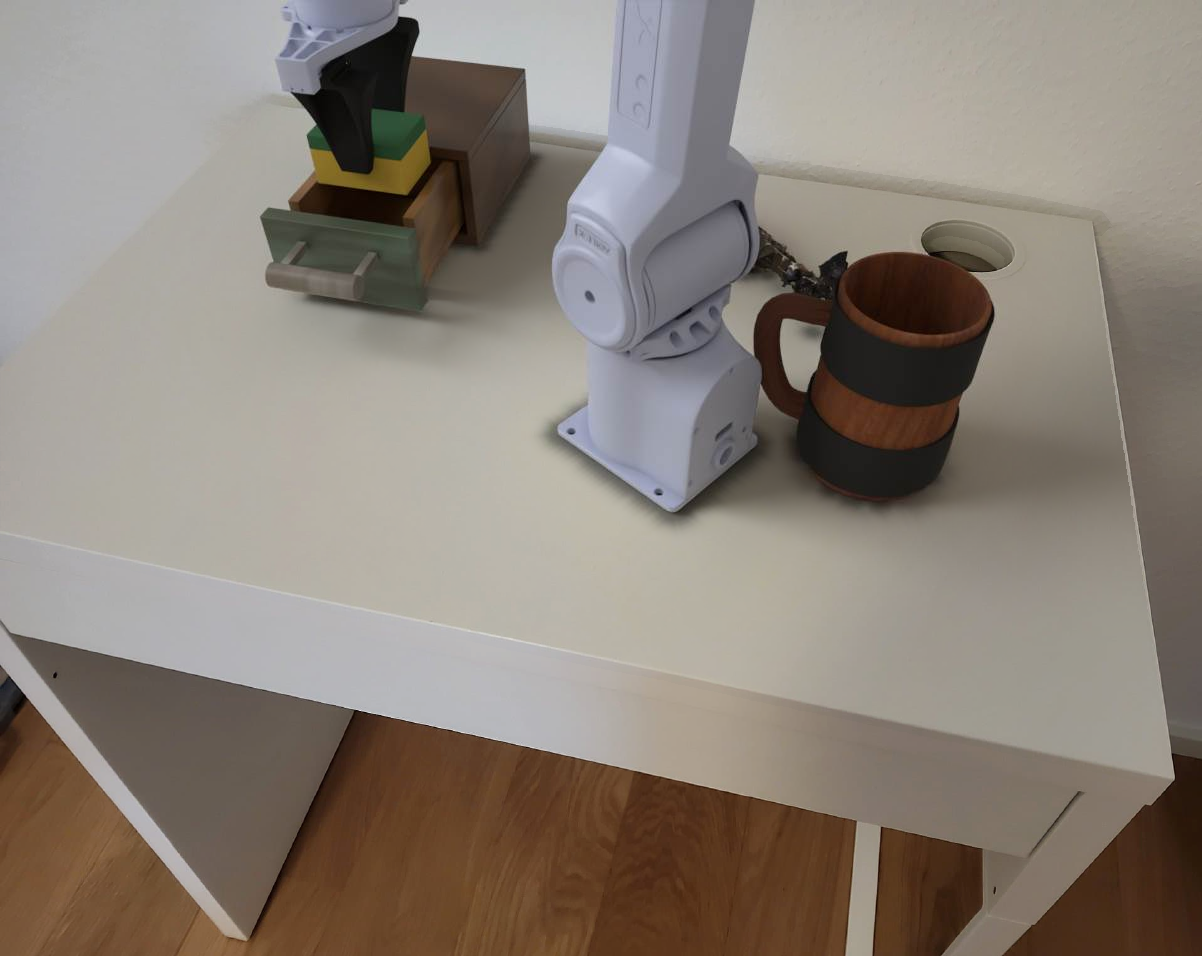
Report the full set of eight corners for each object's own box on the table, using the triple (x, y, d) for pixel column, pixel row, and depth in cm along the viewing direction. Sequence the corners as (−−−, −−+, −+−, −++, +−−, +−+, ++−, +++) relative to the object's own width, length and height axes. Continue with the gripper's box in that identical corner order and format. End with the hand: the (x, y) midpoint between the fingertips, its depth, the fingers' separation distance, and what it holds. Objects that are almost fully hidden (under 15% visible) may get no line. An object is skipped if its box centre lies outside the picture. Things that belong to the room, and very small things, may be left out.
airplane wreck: (823, 356, 61) (840, 287, 57) (651, 228, 71) (655, 162, 67) (884, 324, 63) (904, 255, 59) (709, 205, 74) (716, 140, 69)
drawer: (397, 351, 60) (381, 277, 56) (251, 327, 62) (225, 253, 57) (481, 214, 71) (474, 143, 67) (356, 197, 73) (340, 126, 68)
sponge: (407, 195, 62) (398, 146, 59) (317, 183, 63) (305, 134, 60) (431, 162, 65) (424, 114, 62) (345, 151, 66) (335, 103, 63)
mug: (752, 381, 59) (778, 221, 51) (945, 421, 57) (1006, 260, 48) (723, 475, 54) (746, 314, 45) (935, 524, 51) (1002, 362, 43)
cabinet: (478, 246, 70) (467, 151, 64) (336, 225, 72) (313, 131, 66) (530, 157, 79) (525, 68, 73) (403, 141, 80) (388, 52, 75)
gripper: (321, -115, 58) (361, 96, 68) (199, -33, 49) (267, 198, 59) (426, -106, 57) (452, 107, 67) (323, -21, 48) (371, 213, 58)
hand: (372, 151), depth 63 cm, fingers closed on sponge, 4 cm apart
